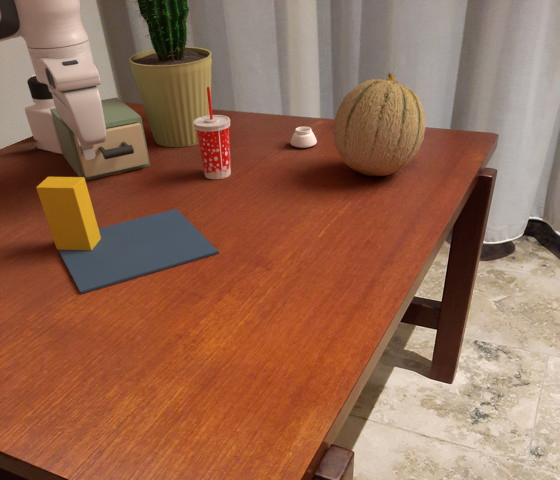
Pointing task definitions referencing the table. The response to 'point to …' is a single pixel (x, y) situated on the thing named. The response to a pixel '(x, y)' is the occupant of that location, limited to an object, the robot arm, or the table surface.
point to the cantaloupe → (379, 127)
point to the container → (42, 117)
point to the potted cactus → (171, 74)
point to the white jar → (303, 137)
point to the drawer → (116, 151)
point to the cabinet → (113, 116)
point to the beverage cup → (214, 143)
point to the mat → (137, 250)
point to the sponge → (69, 212)
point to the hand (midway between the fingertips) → (88, 157)
